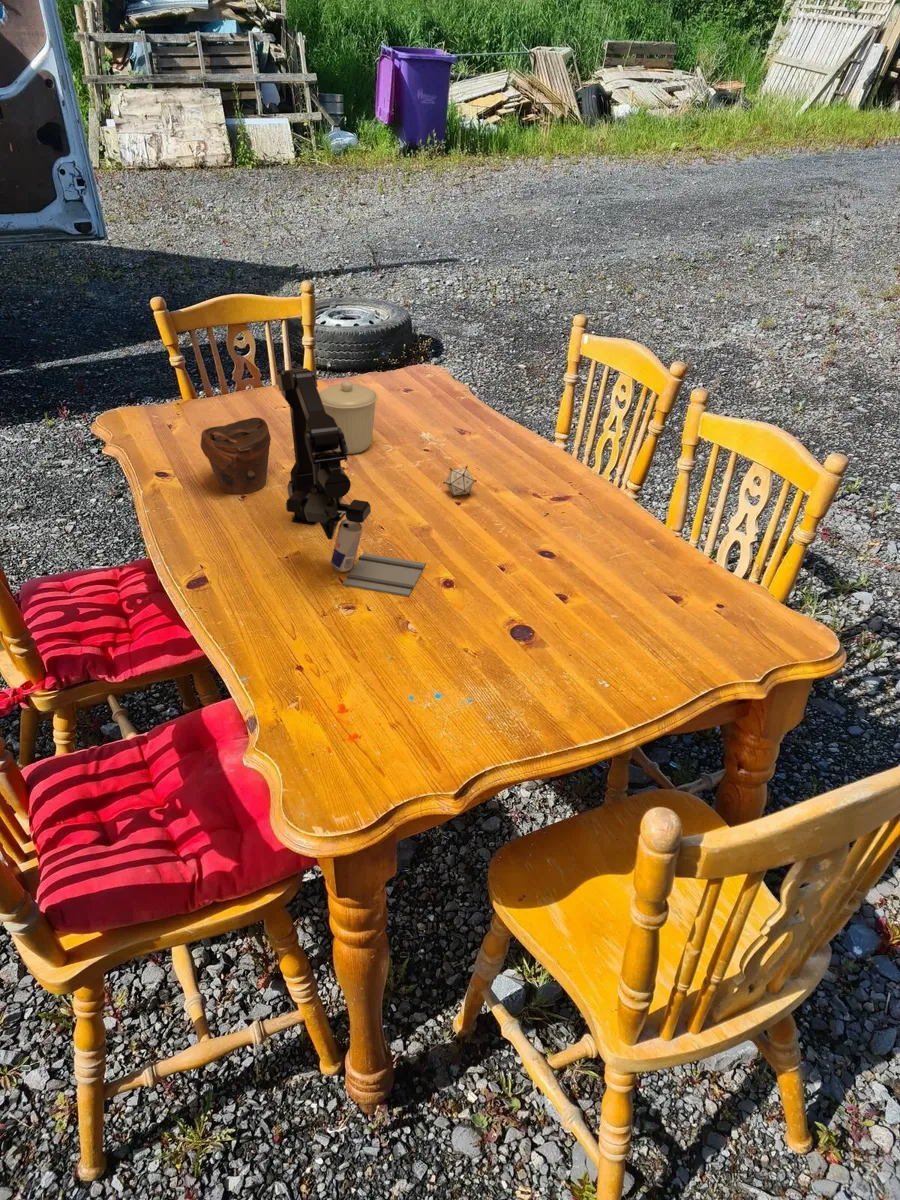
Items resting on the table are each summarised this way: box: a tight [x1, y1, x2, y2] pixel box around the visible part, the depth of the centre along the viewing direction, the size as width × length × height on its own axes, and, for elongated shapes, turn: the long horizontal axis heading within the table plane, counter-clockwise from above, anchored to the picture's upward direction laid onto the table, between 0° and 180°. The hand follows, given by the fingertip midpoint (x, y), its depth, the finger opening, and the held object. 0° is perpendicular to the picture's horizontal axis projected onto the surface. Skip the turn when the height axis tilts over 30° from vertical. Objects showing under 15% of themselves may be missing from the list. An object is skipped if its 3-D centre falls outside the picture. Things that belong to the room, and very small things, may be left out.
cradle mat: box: [342, 552, 427, 598], centre depth 190 cm, size 16×14×1 cm
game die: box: [442, 465, 478, 499], centre depth 223 cm, size 9×8×10 cm
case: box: [200, 416, 272, 495], centre depth 221 cm, size 18×20×18 cm
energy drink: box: [330, 518, 363, 573], centre depth 188 cm, size 5×5×12 cm
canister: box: [318, 379, 379, 455], centre depth 242 cm, size 18×18×21 cm
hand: (330, 538), depth 188 cm, fingers closed
